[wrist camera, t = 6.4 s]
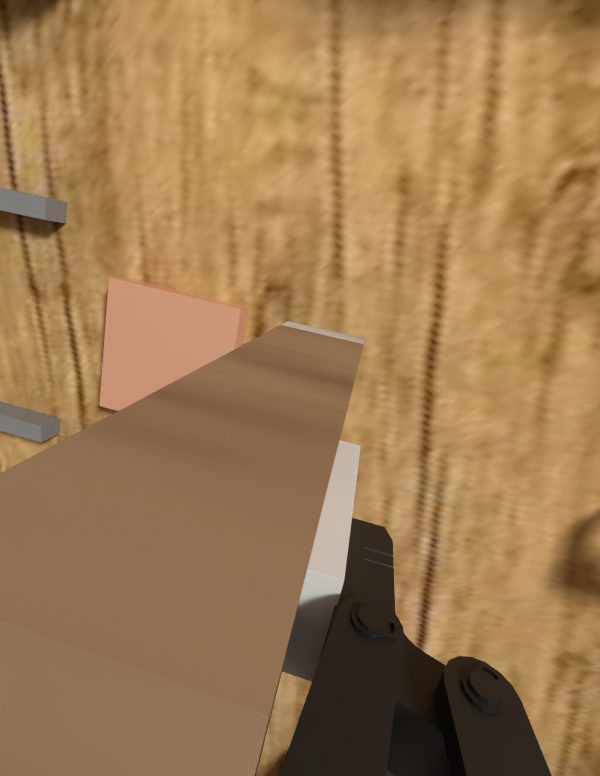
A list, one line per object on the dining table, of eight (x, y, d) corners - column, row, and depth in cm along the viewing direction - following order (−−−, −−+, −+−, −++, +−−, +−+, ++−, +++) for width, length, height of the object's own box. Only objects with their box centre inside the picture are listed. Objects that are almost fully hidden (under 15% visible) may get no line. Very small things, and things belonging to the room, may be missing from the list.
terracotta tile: (230, 428, 27) (218, 439, 25) (118, 397, 28) (99, 405, 26) (251, 306, 25) (241, 309, 23) (129, 276, 26) (109, 277, 24)
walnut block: (315, 537, 18) (141, 1233, 5) (250, 518, 19) (-70, 1120, 5) (364, 338, 16) (268, 714, 2) (288, 321, 16) (-166, 561, 3)
